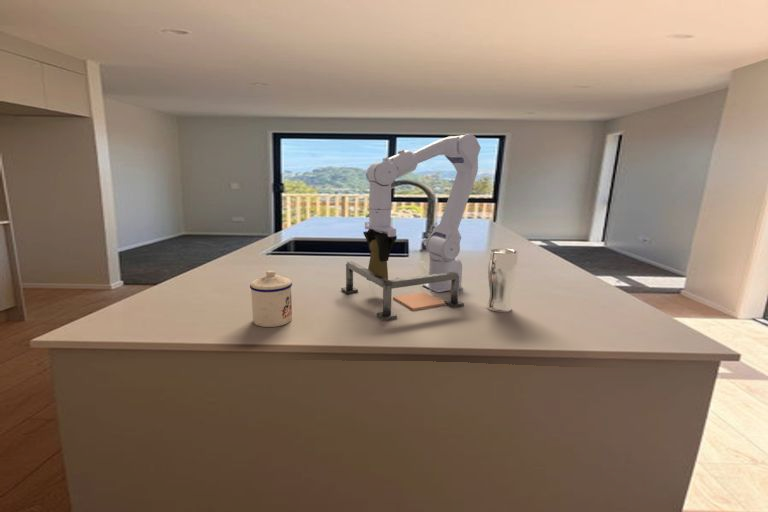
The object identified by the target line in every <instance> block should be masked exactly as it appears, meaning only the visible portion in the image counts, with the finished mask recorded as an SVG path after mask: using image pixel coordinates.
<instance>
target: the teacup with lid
mask: <svg viewBox="0 0 768 512" xmlns="http://www.w3.org/2000/svg"><path fill="white" fill-rule="evenodd" d="M292 286H293V283H292V280H291V279H290V278H287V277H285V276H284V277H283V276H282V275H279V274H276V271H275V270H271V269H270V270H267V271H266V272H265V275H263V276H261V277H260V278H257V279H254V280H252V281H251V282H250V285H249V287H250V289H251V307H252V308H251V309H252V322H253V324H254V325H256V326H258V327H263V328H274V327H275V328H276V327H281V326H284V325H286V324H289V323H290V322H291V321H292V320H293V308H292V303H293V302H292V300H293V299H292Z"/></svg>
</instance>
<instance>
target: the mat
mask: <svg viewBox="0 0 768 512" xmlns="http://www.w3.org/2000/svg"><path fill="white" fill-rule="evenodd" d="M392 300H394V301H396V302H397V303H399V304H401V305H403V306H405V307H406V308H408V310H409V309H410V310H411V311H413V312H414V311H419V310H420V311H421V310H423V309H424V310H425V309H430V308H436V307H440V306H446V305H445V302H444V300H440V298H436V297H435V296H433V295H431V294H429V293H426V292H425V291H420V292H414V293H409V294H402V295H396V296H393V297H392Z"/></svg>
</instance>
